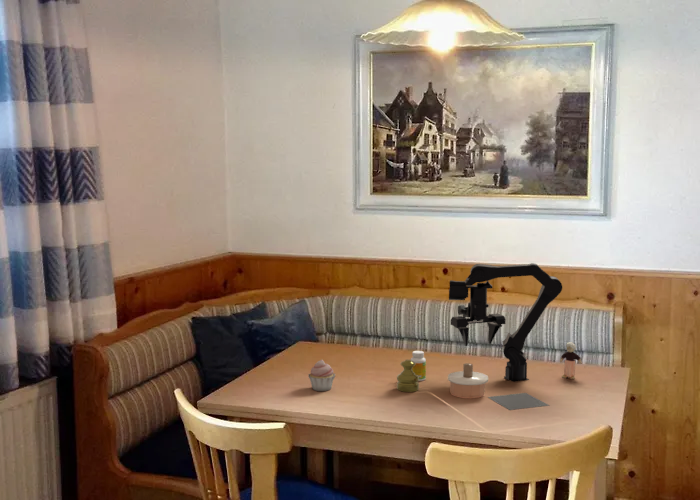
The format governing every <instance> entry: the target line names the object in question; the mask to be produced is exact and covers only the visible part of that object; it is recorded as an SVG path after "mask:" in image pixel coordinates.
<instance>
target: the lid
mask: <svg viewBox="0 0 700 500" xmlns="http://www.w3.org/2000/svg"><path fill="white" fill-rule="evenodd" d="M462 368H463V370H460V371H453V372H451V373H448V375H447V381H449V383H450V382H452V383H455V384H460V385H480V384H484V383H485V384H487V383H488V382H489V375H487V374H485V373H483V372H478V371H474V365H473V363H470V362H469V363H466V362H465V363H463V367H462Z"/></svg>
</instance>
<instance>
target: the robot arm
mask: <svg viewBox="0 0 700 500" xmlns="http://www.w3.org/2000/svg"><path fill="white" fill-rule="evenodd" d="M469 272H470V273H469V275H468V276H467V277H466V279H465V280H464V281H462V280H449V289H448V300H449V301H466V299H467V298H469V302H467V306H465V305H464V304H462V305H458V306H457V314H458V316H452V317H451V319H450V325H451V326H453V327H454V328H455V329H457V330H458V331H459V333H460V336H461V339H462V341H463V343H464V346H465V347H468V343H469V330H470V329H469V328H470V327H468V326H469V325H470V324H484V323H487V327H488V333H487V341H488V344H489V345H491V344H492V342H493V340H494V338H495V337H496V334H497V333H498V331H499V329H500V328H501V327H503V325H506V320H507V319H506V317H505V315H502V314H500V313H489V314H487V312H488V311H487V310H488V309H487V308H489V307H490V306H489V304H488V303H487V302H488V289H493V284H491V283H490V281H491V280H494V279H497V278H499V279H500V278H512V277H513V278H515V277H527V276H528V277H529V276H530V277H531V276H532V277H533V278H535V279H536V280H537V281H538V283H540V284H541V287H540V290H539V292H538V295H537V298H536V300H535V301H534V302H533V304H532V306H531V307H530V309H529V311H528V312H527V314H526V315H525V316H524V318H523V320H522V322H521V323H520V325H519V326H518V328H517V330H516V331H514V332H513V333H512V334H511V332H508V333H507V335H506V337H505V339H504V340H502V348H501V349H502V354H503V356H504V357H505V358H506V359H507V360H508V361H506V366H505V372H504V373H505V375H504V376H503V378H504V379H505V380H508V381H511V382H514V383H516V382H523V381H524V382H525V381H530V379H529V378H528V377H527V376H528V374H527V373H528V361H527V358H526V355H525V353H524V352H523V348H524V345H525V342H526V339H527V337H528V336H529V334H530V332H531V331H532V330H533V328H534V326H535V325H536V324H537V322H538V321H539V319H540V317H541V316H542V314H543V312H544V311H545V310H546V308H547V307H548V306H549V304H550V303H552V302H553V301H554V300H555V299H556V298H558V296H559V295H560V293H562V291H563V284H562V281H560V279H559V278H558V277H556V276H551V275H550V274H549V273H547V272H546V271H545V270H543V269H542V268H541V267H540V266H539V265H538V264H537V263H534V262H531V263H525V264H523V263H522V264H509V265H492V264H486V263H485V264H484V263H476V264H474V265H473V266H472V267H471V268H470V271H469ZM469 289H470V290H469ZM469 292H470V293H469Z"/></svg>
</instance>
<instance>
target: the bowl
mask: <svg viewBox="0 0 700 500" xmlns="http://www.w3.org/2000/svg"><path fill="white" fill-rule="evenodd" d="M449 383H450V384H449V385H450V386H449V392H450V394H451V395H452V396H453V397H456V398H461V399H462V398H463V399H479V398H482V397H484V396H485V395H486V394H485V392H486V383H484V384H480V385H460V384H455V383H452V382H450V381H449Z"/></svg>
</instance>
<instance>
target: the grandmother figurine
mask: <svg viewBox="0 0 700 500" xmlns="http://www.w3.org/2000/svg"><path fill="white" fill-rule="evenodd" d="M565 347H566V350H567V351H565V352H563V354H562V355H561V357H560V359H559V362H560V363H563V361H564V365H563V366H564V367H563V374H562V375H561V378H563V379H564V378H565V379H567V378H568V379H570V380H574V379H576V377H575V375H576V360H577V362H578V365H579V364H580V365H582V363H583V362H582V359H581V357H580V355H578V353H576V352H574V351H575V350H576V349H577V346H576V344H575V343H573V342H572V341H570V342H567V343H566V346H565Z"/></svg>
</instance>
